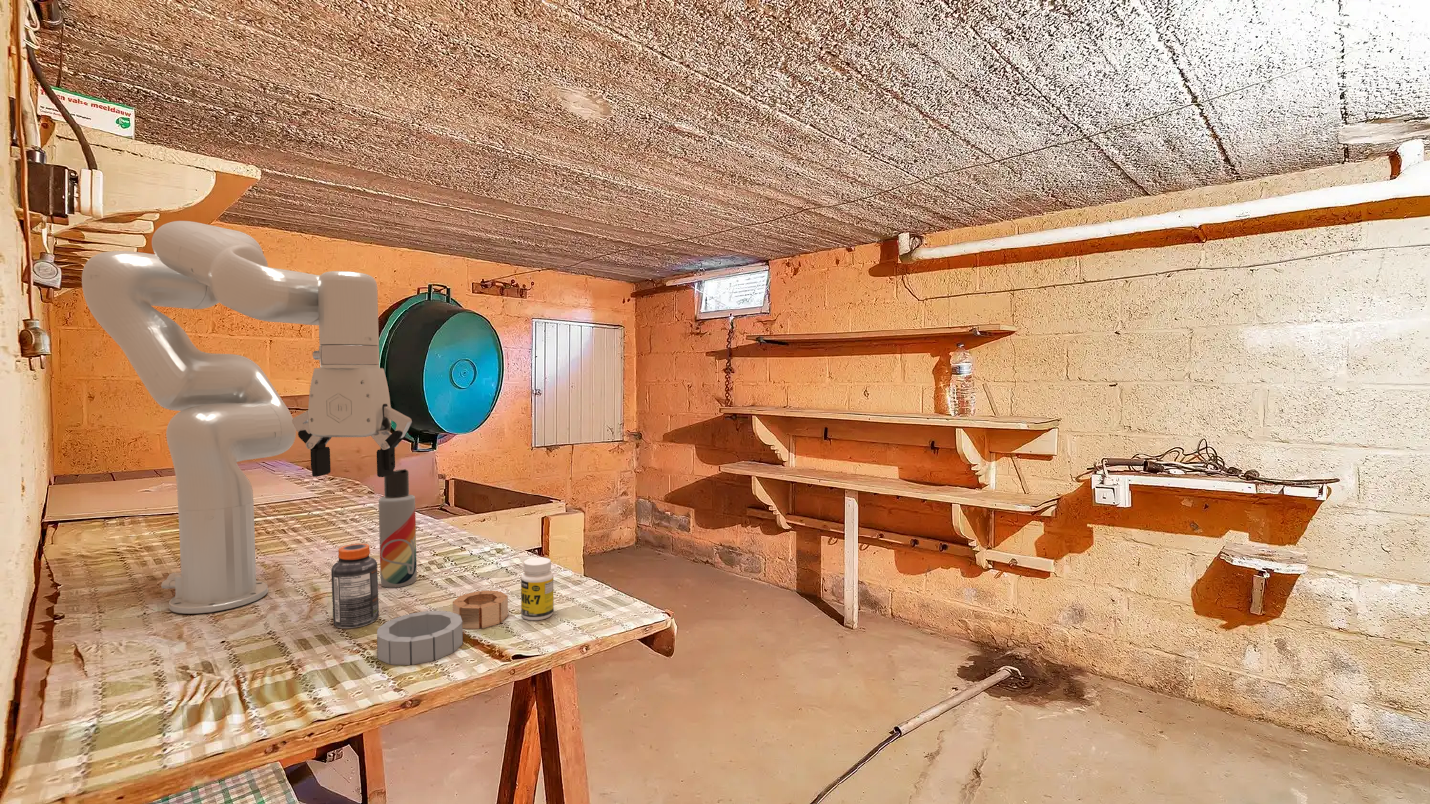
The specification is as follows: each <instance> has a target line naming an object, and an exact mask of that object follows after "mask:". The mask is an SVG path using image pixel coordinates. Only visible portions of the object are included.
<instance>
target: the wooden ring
mask: <svg viewBox="0 0 1430 804" xmlns="http://www.w3.org/2000/svg"><path fill="white" fill-rule="evenodd" d="M508 597H509V596H508V595H507V594H505V593H504V592H502V591H500V590H481V591H480V590H478V591H474V592H470V593H469V592H468V593H465V594H462V595H459V596H457V598H456V599H455V600H453V601H452V612H453V613H456V614H458V615H461V619H462V629H467V630H468V629H470V630H473V629H474V630H479V629H485V628H489V627H493V626H497V625H499V624H501V623H503V622H504V621H505V620H506V619H507V618H508V616H509V606H508V605H509V603H508V602H509V599H508Z"/></svg>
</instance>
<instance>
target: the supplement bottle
mask: <svg viewBox="0 0 1430 804" xmlns="http://www.w3.org/2000/svg"><path fill="white" fill-rule="evenodd" d="M551 560H552V559H550V558H548V557H541V556H540V557H538V556H537V557H532V558H527V559H524V561H523V569H522V570H523V573H522V574H521V577H520V602H521V603H520V614H521V617H522V619H523V620H529V621H542V620H545V619H548V618H550V617H552V615H553V614H554V609H555V608H554V573H553V572H552V571H551V570H552V561H551Z"/></svg>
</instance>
